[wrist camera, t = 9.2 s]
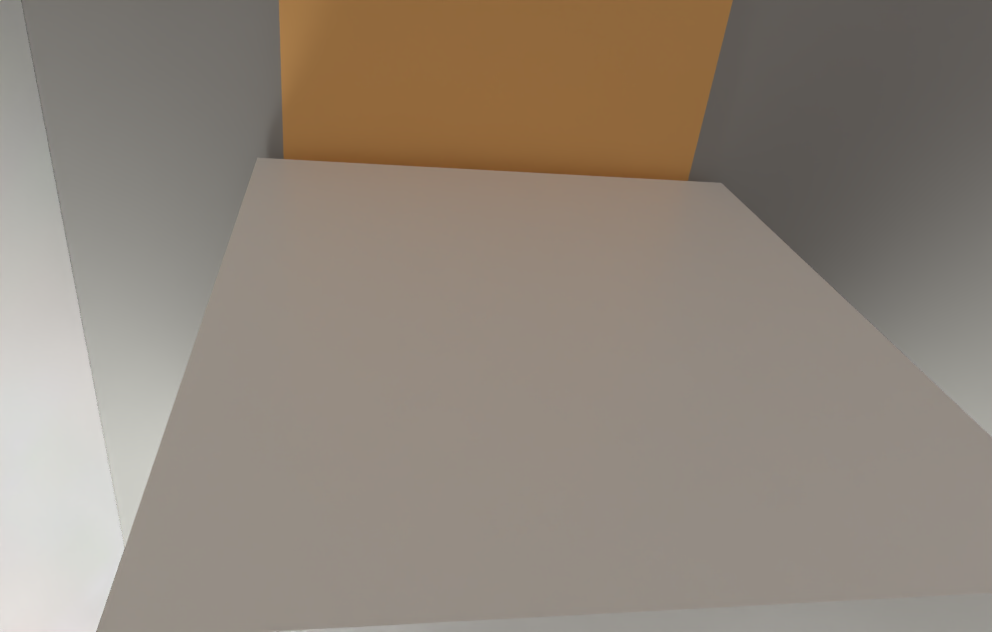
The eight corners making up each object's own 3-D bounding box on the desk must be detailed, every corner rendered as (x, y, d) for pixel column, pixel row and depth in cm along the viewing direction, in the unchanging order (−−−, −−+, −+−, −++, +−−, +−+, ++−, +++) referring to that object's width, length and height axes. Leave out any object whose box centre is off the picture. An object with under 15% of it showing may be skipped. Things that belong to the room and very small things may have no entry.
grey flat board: (1504, -364, 7) (1622, -386, 6) (814, 801, 17) (832, 840, 17) (-69, -749, 5) (-139, -846, 4) (201, 866, 15) (194, 915, 14)
